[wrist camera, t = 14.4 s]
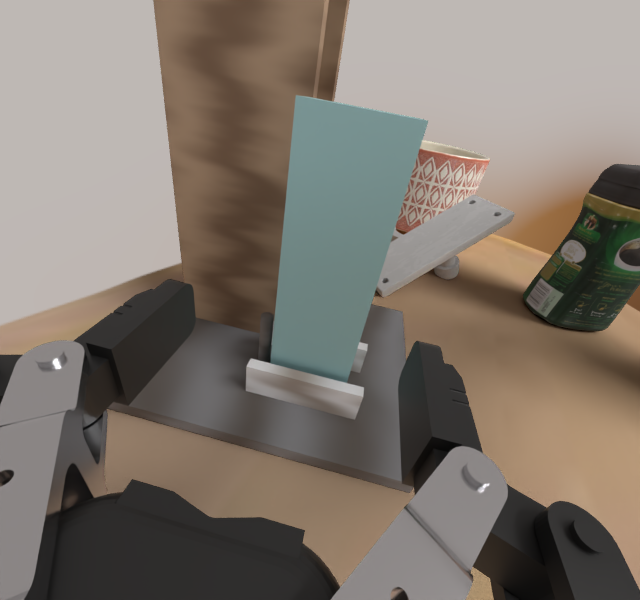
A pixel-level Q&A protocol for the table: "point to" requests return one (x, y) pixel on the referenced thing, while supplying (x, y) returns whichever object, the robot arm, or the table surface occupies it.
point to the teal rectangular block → (337, 228)
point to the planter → (439, 182)
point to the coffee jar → (594, 257)
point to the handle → (439, 242)
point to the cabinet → (258, 242)
